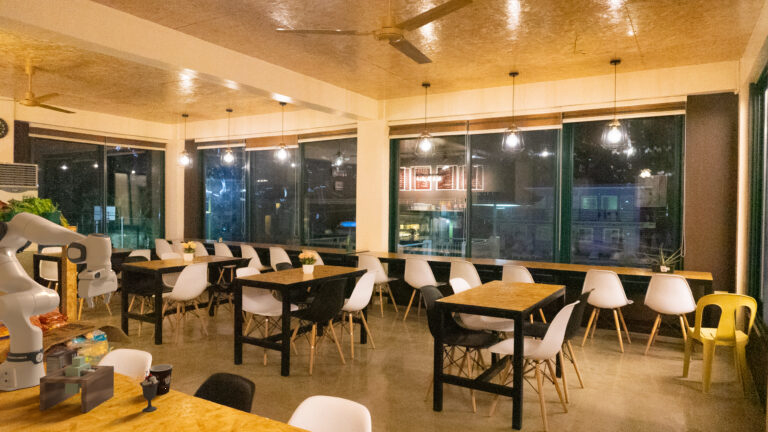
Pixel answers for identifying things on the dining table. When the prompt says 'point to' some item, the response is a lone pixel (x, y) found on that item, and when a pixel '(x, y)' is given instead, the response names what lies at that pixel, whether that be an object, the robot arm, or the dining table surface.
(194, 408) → the dining table surface
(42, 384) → the wooden frame with rod
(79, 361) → the green u-channel bracket
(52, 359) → the coffee box
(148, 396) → the sundae
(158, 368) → the coffee mug
